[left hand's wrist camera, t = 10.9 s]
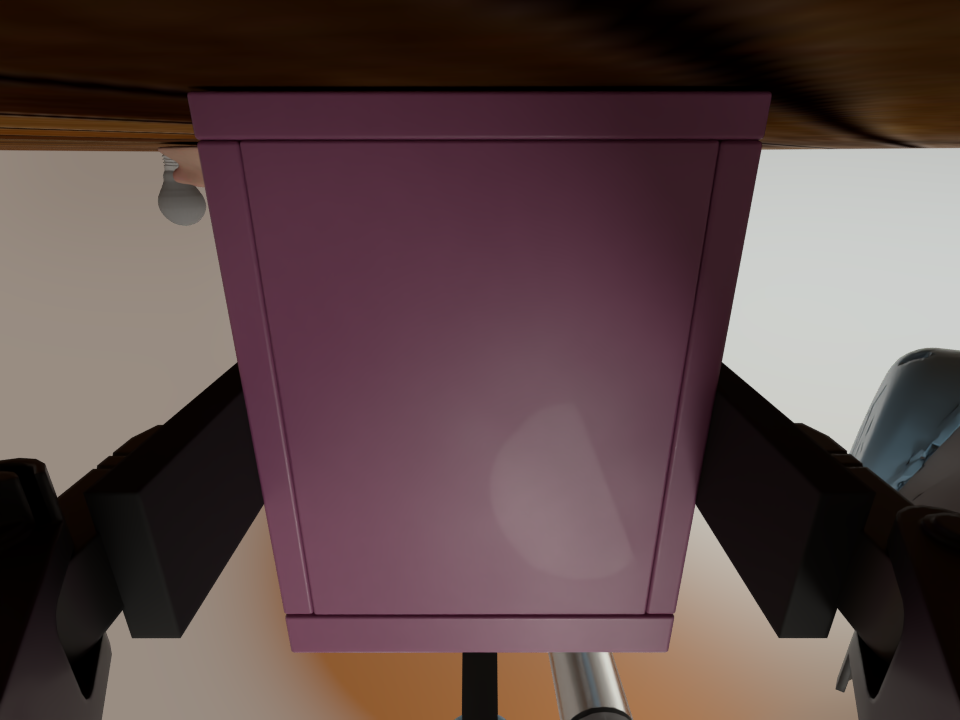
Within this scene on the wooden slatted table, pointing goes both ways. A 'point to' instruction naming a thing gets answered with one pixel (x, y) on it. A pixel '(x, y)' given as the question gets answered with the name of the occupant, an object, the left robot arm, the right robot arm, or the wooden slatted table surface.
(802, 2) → the wooden slatted table surface
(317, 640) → the lid
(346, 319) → the chest
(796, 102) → the wooden slatted table surface
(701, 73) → the wooden slatted table surface
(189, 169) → the anatomical model
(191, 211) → the light bulb
